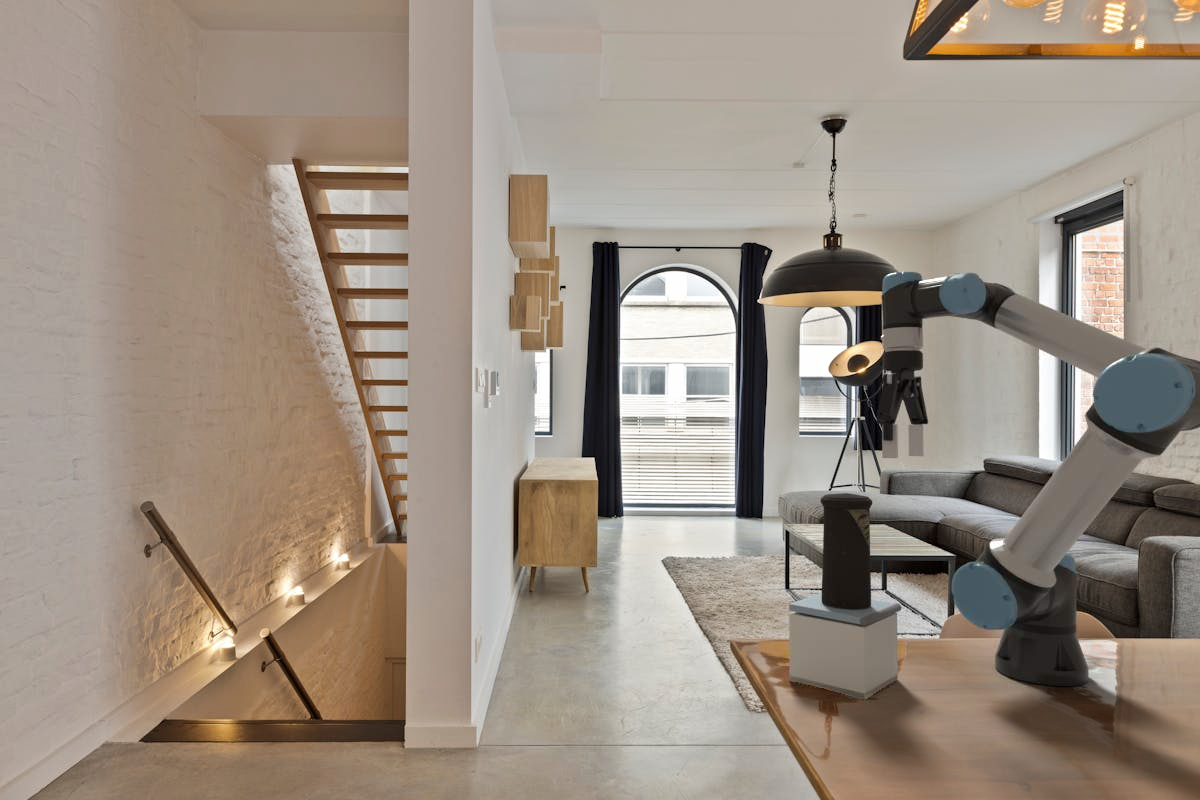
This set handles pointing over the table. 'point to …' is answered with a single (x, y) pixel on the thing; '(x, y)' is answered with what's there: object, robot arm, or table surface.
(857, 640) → the box
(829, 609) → the lid
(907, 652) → the table surface
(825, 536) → the container
